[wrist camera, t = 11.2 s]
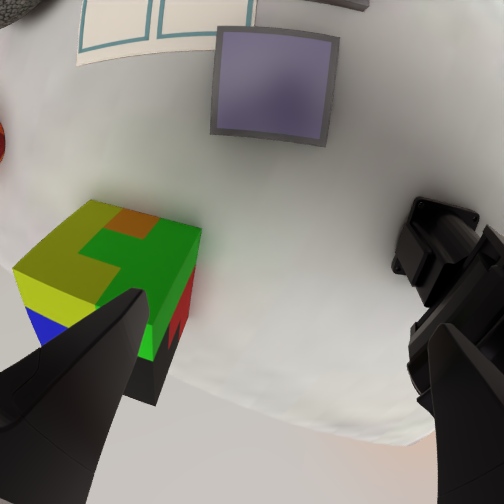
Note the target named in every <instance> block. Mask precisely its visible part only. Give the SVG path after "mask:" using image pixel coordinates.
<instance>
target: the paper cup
mask: <svg viewBox="0 0 504 504" xmlns="http://www.w3.org/2000/svg"><path fill="white" fill-rule="evenodd" d="M4 151H5V136H4V131H3V128H2V125H1V123H0V162H1V161H2V159H3V156H4Z"/></svg>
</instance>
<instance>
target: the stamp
mask: <svg viewBox="0 0 504 504" xmlns="http://www.w3.org/2000/svg"><path fill="white" fill-rule="evenodd" d="M306 1H313V2H319V3H325V4H330V5H335V6H340V7H345V8H350V9H354V10H358V11H362V12H363V11H365V10H366V9H367V8H368V7H369V0H306Z"/></svg>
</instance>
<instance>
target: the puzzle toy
mask: <svg viewBox="0 0 504 504" xmlns="http://www.w3.org/2000/svg"><path fill="white" fill-rule="evenodd" d="M201 231H202V229H201V228H197V227H193V226H190V225H186V224H182V223H178V222H175V221H171V220H167V219H163V218H159V217H156V216H152V215H148V214H144V213H140V212H136V211H133V210H129V209H125V208H121V207H117V206H113V205H109V204H106V203H102V202H98V201H94V200H90V201H88V202H87V203H86V204H84V205H83V206H82V207H81V208H79V209H78V210H77V211H76V212H74V213H73V214H72V215H71V216H69V217H68V218H67V219H66V220H65V221H63V222H62V223H61V224H60V225H59V226H57V227H56V228H55V229H54V230H53V231H52V232H50V233H49V234H48V235H47V236H46V237H45V238H44V239H42V240H41V241H40V242H39V243H38V244H37V245H36V246H35V247H34V248H33V249H31V250H30V251H29V252H28V253H27V254H26V255H25V256H24V257H23V258H22V259H21V260H20V261H19V262H18V263H17V264H16V265H15V266H14V267H13V268H12V269H13V273H14V276H15V279H16V282H17V285H18V288H19V291H20V294H21V297H22V299H23V302H24V305H25V308H26V310H27V313H28V315H29V318H30V320H31V323H32V325H33V328H34V330H35V332H36V334H37V337H38V339H39V341H40V343H41V346H42V345H44V344H45V343H47V342H48V341H50V340H51V339H53V338H54V337H56V336H57V335H59V334H60V333H62V332H63V331H65V330H66V329H68V328H69V327H71V326H72V325H74V324H75V323H77V322H78V321H80V320H81V319H83V318H84V317H86V316H87V315H89V314H90V313H92V312H94V311H95V310H97V309H98V308H100V307H101V306H103V305H104V304H106V303H107V302H109V301H111V300H112V299H114V298H115V297H117V296H118V295H120V294H122V293H123V292H125V291H126V290H128V289H130V288H132V287H135V288H140V289H144V290H145V291H146V294H147V299H148V304H149V310H150V314H149V319H148V322H147V325H146V329H145V332H144V335H143V339H142V342H141V346H140V349H139V353H138V356H137V359H136V362H135V365H134V367H133V370H132V372H131V374H130V377H129V379H128V382H127V384H126V387H125V390H124V392H123V395H125V396H128V397H130V398H133V399H136V400H138V401H141V402H144V403H147V404H150V405H153V406H156V404H157V401H158V398H159V395H160V392H161V389H162V387H163V384H164V381H165V378H166V375H167V373H168V370H169V367H170V364H171V362H172V359H173V356H174V353H175V351H176V348H177V345H178V343H179V340H180V337H181V335H182V332H183V329H184V327H185V324H186V321H187V319H188V313H189V306H190V299H191V292H192V286H193V279H194V273H195V266H196V260H197V254H198V248H199V242H200V236H201Z"/></svg>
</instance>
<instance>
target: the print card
mask: <svg viewBox="0 0 504 504" xmlns="http://www.w3.org/2000/svg"><path fill="white" fill-rule="evenodd" d="M256 5H257V0H82V7H81V15H80V23H79V34H78V47H77V66H81V65H85V64H89V63H94V62H99V61H104V60H110V59H115V58H122V57H128V56H135V55H143V54H153V53H163V52H177V51H200V50H215V46H216V34H217V26H255V15H256Z"/></svg>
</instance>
